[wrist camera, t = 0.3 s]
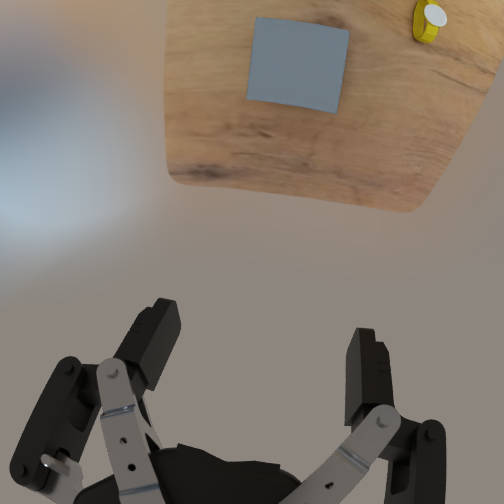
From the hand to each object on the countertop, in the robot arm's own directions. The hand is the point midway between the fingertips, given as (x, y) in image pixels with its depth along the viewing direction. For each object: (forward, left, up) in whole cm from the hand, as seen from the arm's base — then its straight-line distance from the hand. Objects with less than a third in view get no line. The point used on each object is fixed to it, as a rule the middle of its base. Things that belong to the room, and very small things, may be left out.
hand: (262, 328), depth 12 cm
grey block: (-11, -1, -23) cm, 26 cm away
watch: (-21, +12, -28) cm, 37 cm away
